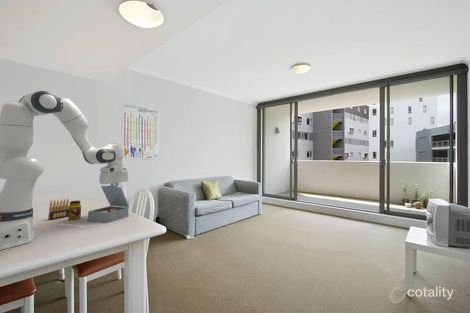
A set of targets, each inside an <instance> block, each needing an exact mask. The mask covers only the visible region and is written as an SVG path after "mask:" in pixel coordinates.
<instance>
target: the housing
mask: <svg viewBox="0 0 470 313" xmlns="http://www.w3.org/2000/svg"><path fill="white" fill-rule="evenodd" d="M113 208H117V211H113V212H110V209H113ZM101 211H108V213H105V212H101ZM127 217H129V207H120V206H110V205H108V206H105V207H104V206H103V207H99V208H96V209H93V210H88V211H87V221H89V222H98V223H107V224H109V223H111V222H115V221H117V220H121V219H124V218H127Z"/></svg>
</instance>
